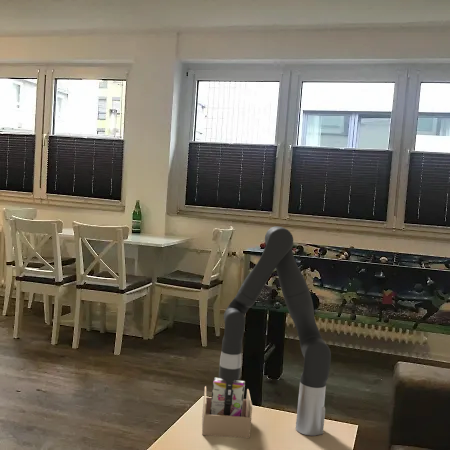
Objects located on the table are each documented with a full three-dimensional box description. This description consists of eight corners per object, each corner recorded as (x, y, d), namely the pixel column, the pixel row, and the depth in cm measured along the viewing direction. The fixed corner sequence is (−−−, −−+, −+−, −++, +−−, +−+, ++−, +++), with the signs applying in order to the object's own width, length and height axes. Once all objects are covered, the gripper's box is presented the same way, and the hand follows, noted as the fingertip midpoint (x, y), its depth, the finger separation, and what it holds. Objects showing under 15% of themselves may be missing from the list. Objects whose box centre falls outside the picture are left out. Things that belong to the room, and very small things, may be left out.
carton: (246, 418, 209) (248, 389, 208) (249, 437, 192) (252, 406, 192) (202, 415, 208) (204, 386, 207) (202, 434, 192) (204, 403, 191)
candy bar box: (208, 427, 198) (212, 381, 197) (210, 421, 203) (214, 376, 202) (240, 431, 197) (244, 385, 196) (241, 425, 202) (245, 380, 201)
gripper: (242, 372, 192) (238, 420, 193) (239, 358, 206) (235, 404, 207) (220, 370, 191) (216, 419, 193) (219, 357, 206) (215, 402, 207)
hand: (226, 411), depth 200 cm, fingers closed on candy bar box, 5 cm apart
